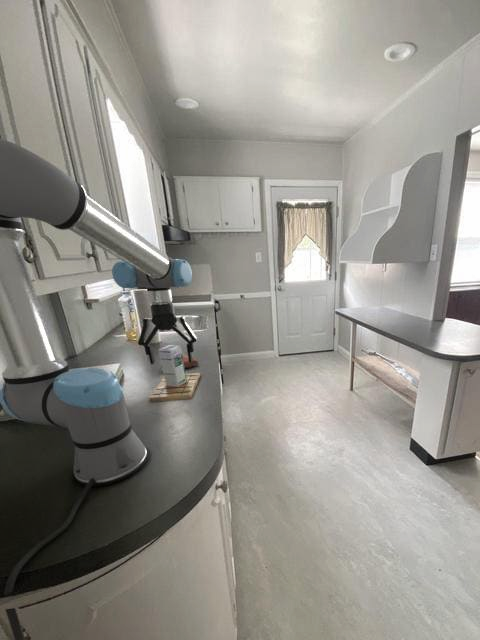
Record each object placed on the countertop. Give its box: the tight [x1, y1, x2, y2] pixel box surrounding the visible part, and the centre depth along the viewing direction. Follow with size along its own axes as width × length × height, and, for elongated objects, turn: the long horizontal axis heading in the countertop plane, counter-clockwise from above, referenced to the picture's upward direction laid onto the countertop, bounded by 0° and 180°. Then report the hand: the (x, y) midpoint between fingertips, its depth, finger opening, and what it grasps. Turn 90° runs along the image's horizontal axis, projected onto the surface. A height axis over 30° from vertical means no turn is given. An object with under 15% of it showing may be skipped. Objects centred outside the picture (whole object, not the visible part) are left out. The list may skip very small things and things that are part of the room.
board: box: [148, 372, 201, 402], centre depth 116 cm, size 22×14×2 cm, turn 7°
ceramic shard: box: [161, 354, 199, 369], centre depth 138 cm, size 15×6×15 cm
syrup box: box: [157, 344, 187, 387], centre depth 113 cm, size 6×6×14 cm
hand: (172, 361), depth 112 cm, fingers open, 13 cm apart
